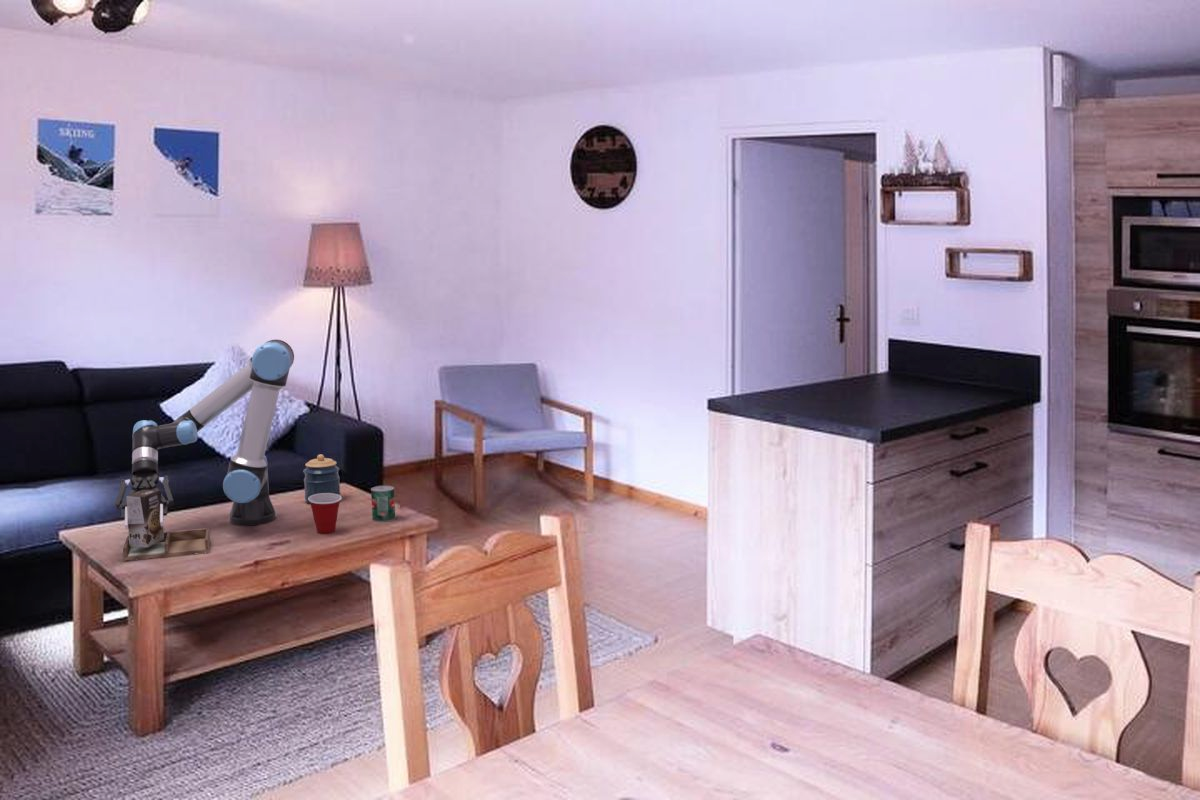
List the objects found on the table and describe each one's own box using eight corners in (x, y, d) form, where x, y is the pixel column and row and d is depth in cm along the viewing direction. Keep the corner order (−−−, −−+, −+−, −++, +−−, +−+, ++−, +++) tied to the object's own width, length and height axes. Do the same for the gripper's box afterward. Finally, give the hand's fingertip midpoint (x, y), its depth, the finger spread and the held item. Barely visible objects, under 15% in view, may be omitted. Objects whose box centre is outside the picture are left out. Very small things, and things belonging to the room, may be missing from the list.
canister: (321, 506, 370) (319, 459, 367) (297, 502, 377) (294, 455, 374) (348, 499, 381) (346, 453, 378) (324, 494, 388) (322, 449, 385)
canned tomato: (399, 519, 352) (398, 488, 351) (378, 523, 348) (376, 492, 346) (389, 514, 359) (388, 484, 357) (368, 518, 354) (367, 487, 352)
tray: (209, 540, 329) (209, 528, 329) (208, 552, 316) (207, 539, 316) (128, 548, 321) (127, 535, 321) (124, 561, 308) (123, 548, 308)
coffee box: (148, 547, 311) (144, 496, 309) (128, 546, 312) (124, 495, 310) (165, 539, 320) (161, 489, 318) (146, 538, 321) (143, 488, 319)
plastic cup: (321, 538, 331) (319, 502, 329) (303, 532, 338) (301, 497, 336) (349, 531, 339) (348, 496, 337) (331, 525, 346) (329, 491, 344)
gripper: (182, 468, 331) (183, 528, 319) (108, 473, 324) (106, 535, 311) (181, 455, 325) (181, 516, 313) (105, 460, 318) (103, 522, 306)
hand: (144, 525), depth 312 cm, fingers closed on coffee box, 9 cm apart
